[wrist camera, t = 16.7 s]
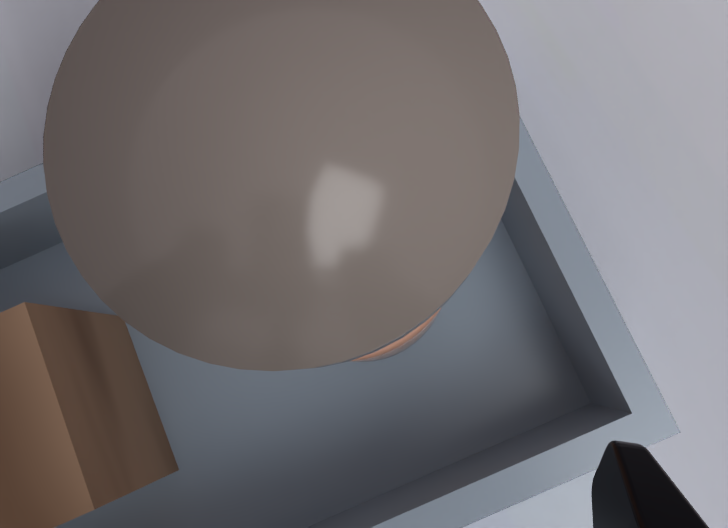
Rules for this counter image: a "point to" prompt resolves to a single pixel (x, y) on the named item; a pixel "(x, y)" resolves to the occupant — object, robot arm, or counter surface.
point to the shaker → (281, 170)
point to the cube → (72, 416)
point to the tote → (384, 390)
